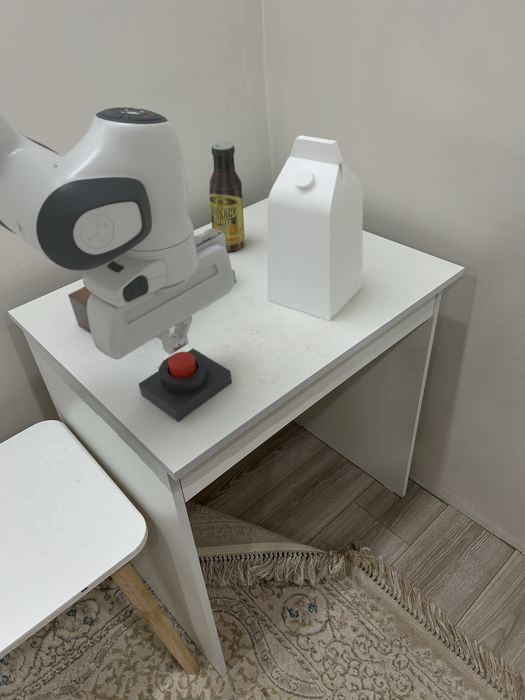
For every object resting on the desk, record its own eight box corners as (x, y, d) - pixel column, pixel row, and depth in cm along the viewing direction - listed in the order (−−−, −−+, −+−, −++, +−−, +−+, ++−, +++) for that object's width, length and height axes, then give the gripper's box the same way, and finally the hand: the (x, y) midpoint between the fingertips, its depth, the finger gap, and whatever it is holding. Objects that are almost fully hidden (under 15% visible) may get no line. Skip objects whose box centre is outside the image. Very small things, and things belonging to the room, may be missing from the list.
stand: (112, 348, 85) (103, 317, 81) (78, 324, 90) (67, 294, 87) (162, 319, 90) (156, 288, 86) (127, 298, 96) (119, 268, 92)
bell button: (181, 382, 73) (179, 372, 71) (164, 370, 75) (162, 361, 73) (201, 368, 74) (200, 358, 73) (184, 357, 76) (182, 348, 75)
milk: (362, 286, 94) (372, 132, 78) (329, 320, 87) (334, 159, 71) (302, 269, 100) (300, 122, 83) (267, 300, 93) (258, 146, 76)
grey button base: (178, 422, 72) (173, 400, 69) (141, 395, 76) (135, 373, 74) (232, 382, 77) (229, 360, 75) (194, 359, 82) (191, 338, 79)
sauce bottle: (209, 251, 107) (195, 150, 94) (220, 236, 112) (209, 138, 99) (240, 255, 105) (231, 152, 93) (250, 239, 110) (243, 139, 97)
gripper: (206, 216, 71) (216, 304, 80) (68, 282, 60) (98, 376, 68) (240, 230, 67) (247, 320, 76) (101, 302, 56) (128, 399, 65)
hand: (176, 347), depth 72 cm, fingers closed
